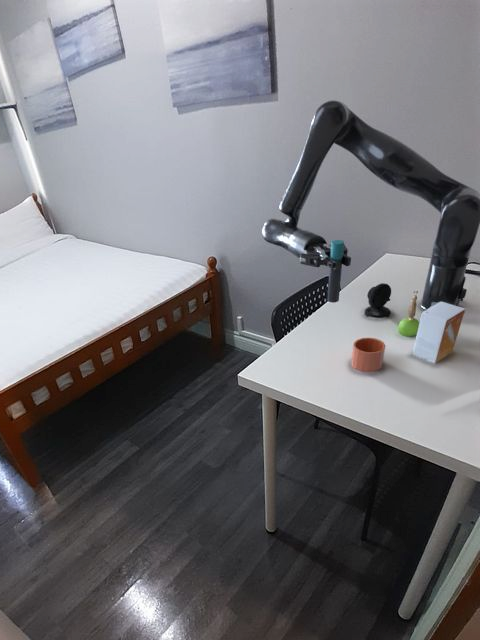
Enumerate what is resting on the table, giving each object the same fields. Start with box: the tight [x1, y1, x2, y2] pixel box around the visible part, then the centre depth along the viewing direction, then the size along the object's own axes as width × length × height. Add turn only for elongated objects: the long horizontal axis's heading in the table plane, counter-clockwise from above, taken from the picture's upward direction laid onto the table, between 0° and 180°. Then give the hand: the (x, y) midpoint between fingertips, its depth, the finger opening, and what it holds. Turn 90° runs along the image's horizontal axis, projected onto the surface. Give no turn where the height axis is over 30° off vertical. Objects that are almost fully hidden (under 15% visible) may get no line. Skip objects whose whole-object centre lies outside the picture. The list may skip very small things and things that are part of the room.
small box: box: [412, 302, 466, 364], centre depth 102 cm, size 8×6×13 cm
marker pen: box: [326, 239, 345, 304], centre depth 106 cm, size 3×3×16 cm
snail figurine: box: [397, 290, 420, 338], centre depth 111 cm, size 5×6×12 cm
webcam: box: [364, 282, 392, 319], centre depth 123 cm, size 8×8×10 cm
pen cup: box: [350, 337, 386, 373], centre depth 104 cm, size 7×7×6 cm
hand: (343, 263), depth 102 cm, fingers closed on marker pen, 3 cm apart
